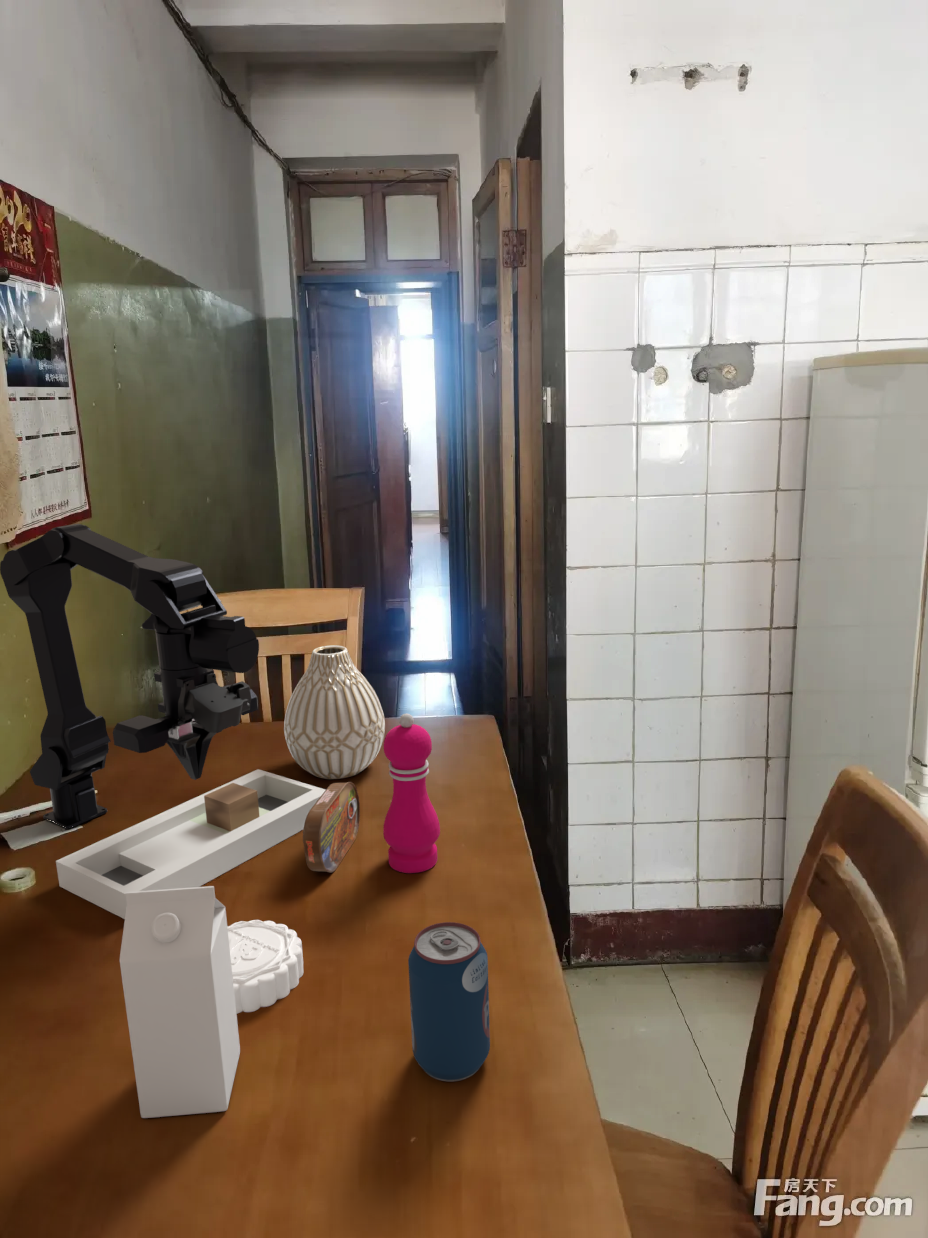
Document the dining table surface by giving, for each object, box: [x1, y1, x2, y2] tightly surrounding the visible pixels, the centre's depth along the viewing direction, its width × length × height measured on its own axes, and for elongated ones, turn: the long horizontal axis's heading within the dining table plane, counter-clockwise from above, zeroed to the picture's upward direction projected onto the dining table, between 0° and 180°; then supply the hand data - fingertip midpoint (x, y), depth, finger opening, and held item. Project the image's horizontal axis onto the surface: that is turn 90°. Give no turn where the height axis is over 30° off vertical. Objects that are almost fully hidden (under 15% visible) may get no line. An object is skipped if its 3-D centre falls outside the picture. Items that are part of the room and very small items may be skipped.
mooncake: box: [227, 919, 304, 1015], centre depth 93 cm, size 12×12×4 cm
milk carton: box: [119, 885, 241, 1119], centre depth 76 cm, size 7×7×19 cm
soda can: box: [407, 921, 491, 1083], centre depth 79 cm, size 7×7×12 cm
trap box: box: [55, 768, 326, 920], centre depth 120 cm, size 15×33×4 cm, turn 145°
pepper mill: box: [382, 713, 441, 874], centre depth 113 cm, size 7×7×20 cm
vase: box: [283, 645, 386, 780], centre depth 143 cm, size 16×16×20 cm
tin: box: [302, 781, 361, 873], centre depth 117 cm, size 15×3×8 cm, turn 168°
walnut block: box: [204, 783, 260, 832], centre depth 123 cm, size 5×5×4 cm
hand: (195, 778), depth 118 cm, fingers closed
